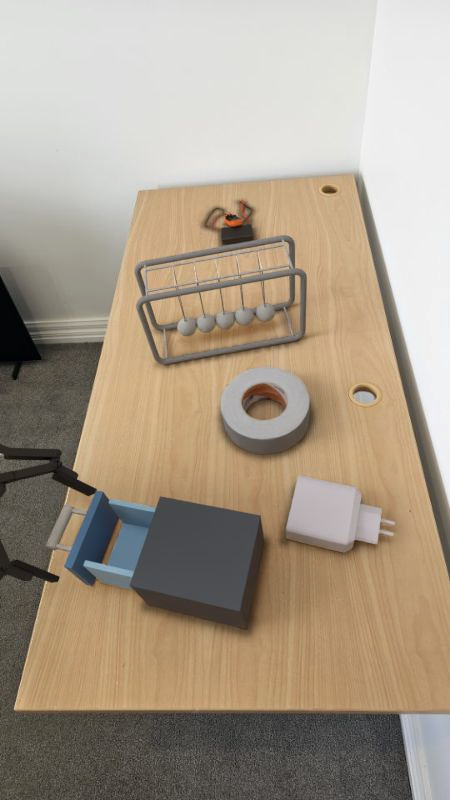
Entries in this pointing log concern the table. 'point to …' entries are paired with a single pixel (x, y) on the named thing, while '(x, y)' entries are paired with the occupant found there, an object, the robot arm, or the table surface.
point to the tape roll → (273, 431)
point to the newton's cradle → (224, 317)
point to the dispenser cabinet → (200, 561)
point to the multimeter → (235, 228)
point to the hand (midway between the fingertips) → (75, 534)
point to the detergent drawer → (104, 540)
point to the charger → (332, 516)
